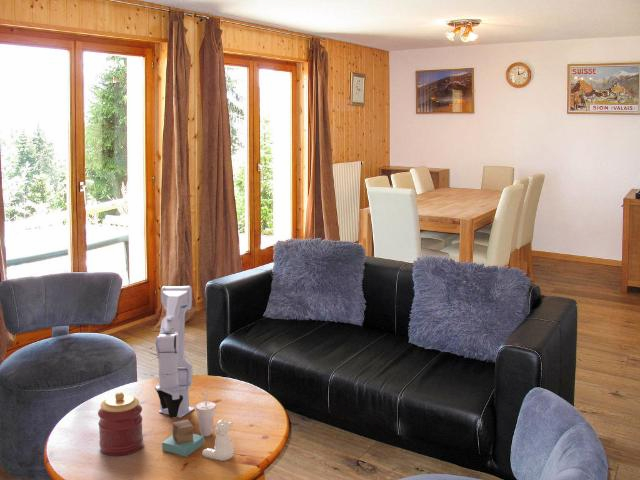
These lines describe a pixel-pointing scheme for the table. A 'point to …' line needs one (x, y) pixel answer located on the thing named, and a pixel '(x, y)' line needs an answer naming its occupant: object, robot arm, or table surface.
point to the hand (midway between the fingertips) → (169, 412)
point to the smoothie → (205, 416)
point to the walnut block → (182, 431)
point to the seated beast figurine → (221, 443)
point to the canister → (120, 425)
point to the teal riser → (183, 445)
